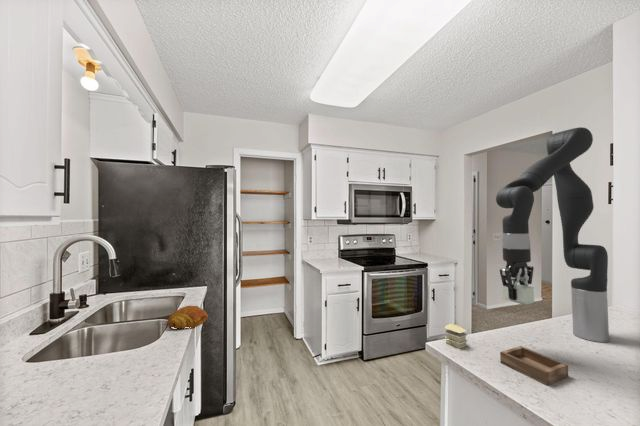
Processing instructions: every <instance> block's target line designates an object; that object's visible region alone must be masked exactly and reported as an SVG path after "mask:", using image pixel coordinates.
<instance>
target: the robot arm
mask: <svg viewBox="0 0 640 426" xmlns="http://www.w3.org/2000/svg"><path fill="white" fill-rule="evenodd" d="M593 141H594V138H593V134H592V132H591V131H590V130H589V129H588V128H586V127H580V126H579V127H574V128H569V129H565V130H562V131H559V132H555V133H551V135H549V136H548V138H547V141H546V152H547V155H546V156H545V157H543V158H542V159H540V160H538V161H536V162H535V163H532V165H531V166H529V167H528V168H527V169H526V170H524V172H522V174H521V175H520V176H519V177H517V178H515V179H514V180H512V181H511V182H509V183H507V184H506V185H505V186H503V187H501V189H499V190H498V192H497V193H496V196H495V202H496V204H497V205H498V207H500V208H503V209H512V212H511V214H509V215H506V216H504V217H503V218H502V237H501V238H502V239H501V240H502V241H501V242H502V244H501V245H502V247H501V248H502V260H503V261H504V262H505V263H506V265H505V267H504V268H500V269H499V274H500V277H501V282H502V284H503V286H506V287H508V295H509V299H511V300H517V289H516V287H517V284H520V285H524V286H529V285H532V283H533V277H534V266H530V265H528V263H530V262H531V261H532V257H531V256H532V255H531V239H530V234H529V232H530V231H529V220H530V216H531V213H532V210H533V207H534V202H535V195H534V193H535V192H537V191H538V190H540V189H541V188H542V187H543V186H544V185H545V184H546V183H547V182H548V181H549V180H550V179H551V178H552V177H553V178H554V184H555V189H556V198H557V205H558V211H559V215H560V221H561V228H562V229H561V231H562V245H563V259H564V261H565V264H566V265H567V267H568V268H571V269H578V270H585V271H590V272H589V275H587V276H583V277H577V278H576V277H575V278H572V279H571V280H570V288H571V291H570V293H571V310H572V311H571V313H572V334H573V335H575V336H576V337H578V338H581V339H584V340H587V341H592V342H597V343H600V342H601V343H607V342H609V341H610V331H609V330H610V327H609V308H608V307H609V305H608V304H609V303H608V302H609V301H608V270H609V269H608V267H609V266H608V264H609V255H608V251H607V249H606V248H605V246H603V245H598V244H586V243H585V244H583V243H579V234H580V230H581V229H582V227H583V226H584V225H585V223H586V222H587V221H588V219H589V218H590V216H591V215H592V213H593V211H594V208H595V207H594V201H593V193H592V189H591V188H590V186H589V185H588V184H587V183H586V182H585V181H584V180H583V179H582V178H581V177H580V176H579V175H578V174H577V173H576V172H575V171H574V170H573V168H572V166H571V163H572V162H573V161H575V160H576V159H577V158H578V157H579V158H580V156H582V155H584V154H585V153H586V152H588V150H589V149H590V148H591V147H592V145H593ZM512 283H513V284H512Z"/></svg>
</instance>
